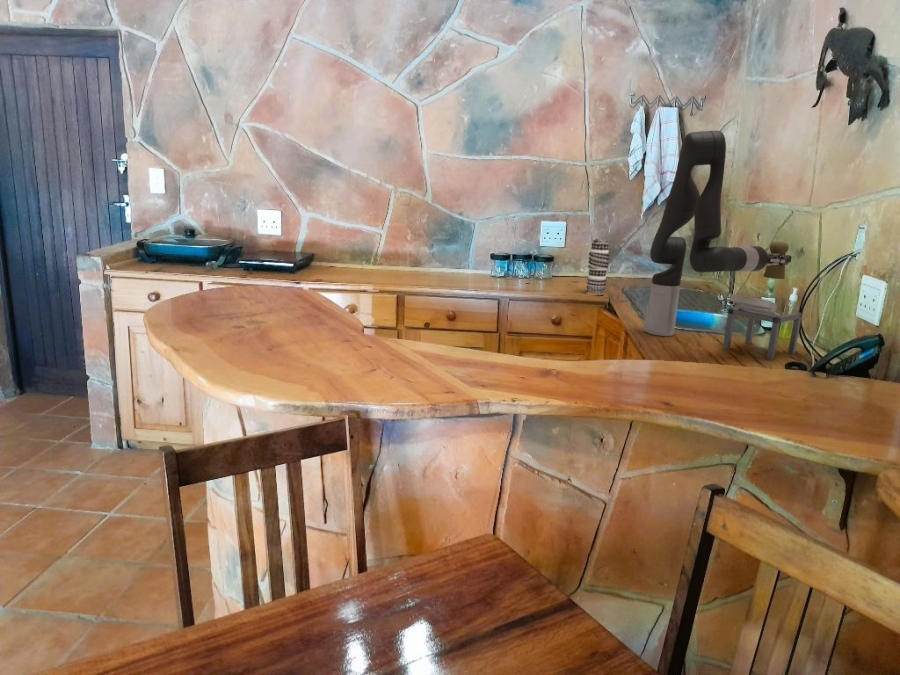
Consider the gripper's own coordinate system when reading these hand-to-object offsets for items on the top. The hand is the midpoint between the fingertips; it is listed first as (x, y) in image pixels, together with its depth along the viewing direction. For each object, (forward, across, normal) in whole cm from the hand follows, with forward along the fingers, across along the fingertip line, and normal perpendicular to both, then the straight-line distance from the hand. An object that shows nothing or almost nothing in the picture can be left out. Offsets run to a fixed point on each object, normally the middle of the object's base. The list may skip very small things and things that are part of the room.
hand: (783, 258), depth 202 cm
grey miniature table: (-5, 0, +30) cm, 30 cm away
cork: (-3, 0, +6) cm, 7 cm away
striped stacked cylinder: (+10, +96, +29) cm, 101 cm away
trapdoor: (-8, -1, +17) cm, 19 cm away
